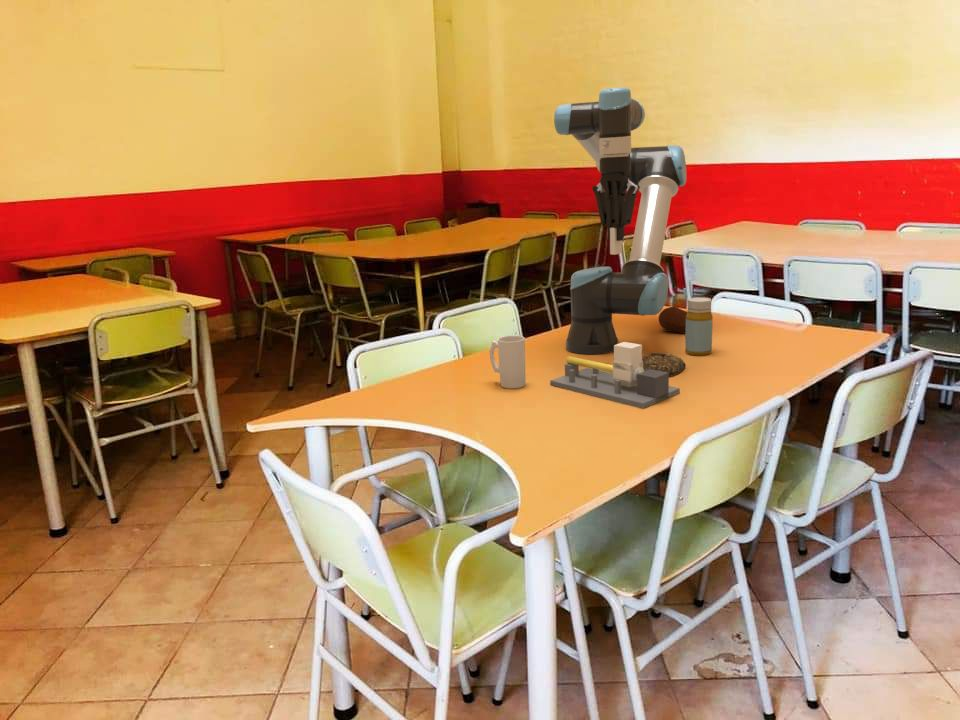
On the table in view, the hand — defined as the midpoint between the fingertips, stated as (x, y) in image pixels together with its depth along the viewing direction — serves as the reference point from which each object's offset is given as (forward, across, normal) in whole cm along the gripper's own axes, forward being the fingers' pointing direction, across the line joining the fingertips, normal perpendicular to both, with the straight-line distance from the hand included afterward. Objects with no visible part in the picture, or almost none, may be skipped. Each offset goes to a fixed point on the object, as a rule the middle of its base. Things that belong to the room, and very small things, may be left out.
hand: (616, 253), depth 186 cm
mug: (+31, -14, -26) cm, 43 cm away
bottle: (+31, +7, +27) cm, 41 cm away
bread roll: (+31, +8, +7) cm, 33 cm away
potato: (+31, -12, +44) cm, 55 cm away
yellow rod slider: (+30, +9, -13) cm, 34 cm away
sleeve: (+28, +13, -13) cm, 34 cm away
